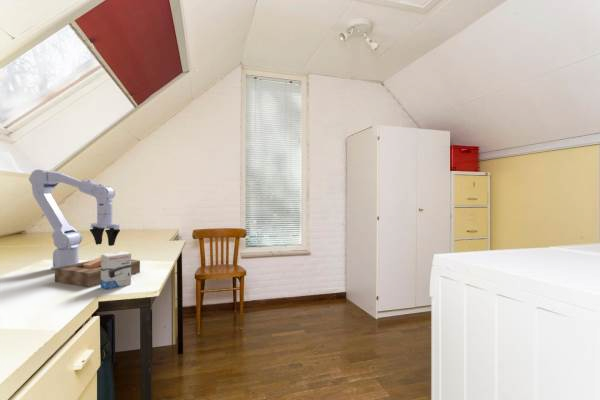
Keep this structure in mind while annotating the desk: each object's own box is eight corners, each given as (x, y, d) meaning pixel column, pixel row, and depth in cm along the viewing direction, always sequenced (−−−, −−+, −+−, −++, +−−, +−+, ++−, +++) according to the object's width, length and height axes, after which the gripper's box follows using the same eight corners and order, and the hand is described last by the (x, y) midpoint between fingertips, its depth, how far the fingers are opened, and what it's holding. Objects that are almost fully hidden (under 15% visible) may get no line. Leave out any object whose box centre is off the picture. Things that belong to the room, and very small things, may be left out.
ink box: (106, 289, 107) (106, 256, 107) (100, 287, 110) (100, 254, 110) (131, 284, 114) (131, 252, 114) (125, 281, 117) (125, 250, 117)
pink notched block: (86, 278, 119) (83, 264, 118) (109, 267, 129) (106, 254, 127) (92, 279, 118) (89, 265, 117) (115, 268, 127) (112, 255, 126)
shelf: (54, 281, 115) (54, 268, 115) (108, 268, 136) (108, 256, 136) (89, 287, 110) (89, 273, 109) (139, 272, 130) (139, 260, 130)
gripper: (84, 214, 134) (84, 245, 134) (108, 215, 129) (108, 247, 129) (99, 213, 140) (99, 242, 141) (123, 214, 135) (123, 244, 136)
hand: (105, 244), depth 135 cm, fingers open, 7 cm apart
